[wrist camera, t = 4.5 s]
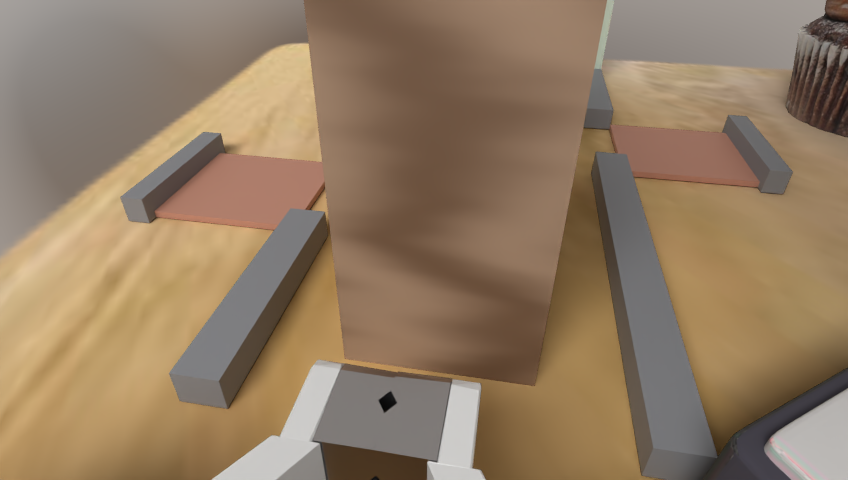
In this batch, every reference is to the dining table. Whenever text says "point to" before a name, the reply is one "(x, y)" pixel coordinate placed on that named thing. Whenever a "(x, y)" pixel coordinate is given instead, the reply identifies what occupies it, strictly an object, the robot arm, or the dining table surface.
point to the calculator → (793, 439)
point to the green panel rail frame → (621, 233)
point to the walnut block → (450, 172)
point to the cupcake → (822, 72)
